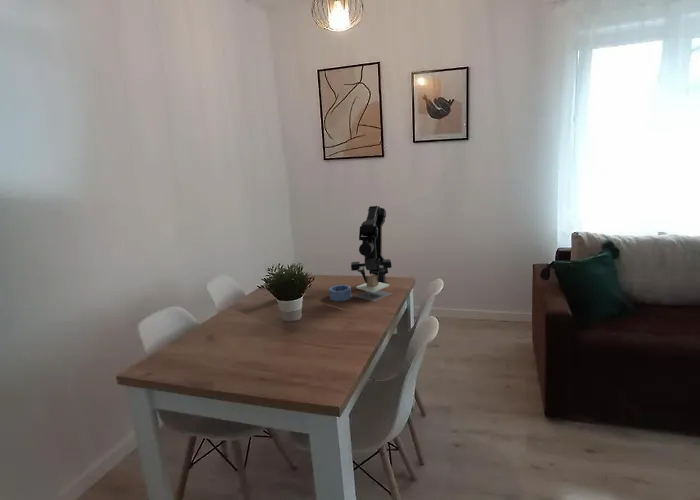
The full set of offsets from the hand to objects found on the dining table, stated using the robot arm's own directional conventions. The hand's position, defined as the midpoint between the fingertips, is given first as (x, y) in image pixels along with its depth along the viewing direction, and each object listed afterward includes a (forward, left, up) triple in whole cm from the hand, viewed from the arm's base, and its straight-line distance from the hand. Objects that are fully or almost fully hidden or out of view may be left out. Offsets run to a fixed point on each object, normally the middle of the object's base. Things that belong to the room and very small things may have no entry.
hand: (372, 282), depth 216 cm
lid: (0, 0, -2) cm, 2 cm away
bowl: (+11, -11, -7) cm, 17 cm away
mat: (0, 0, -7) cm, 7 cm away
